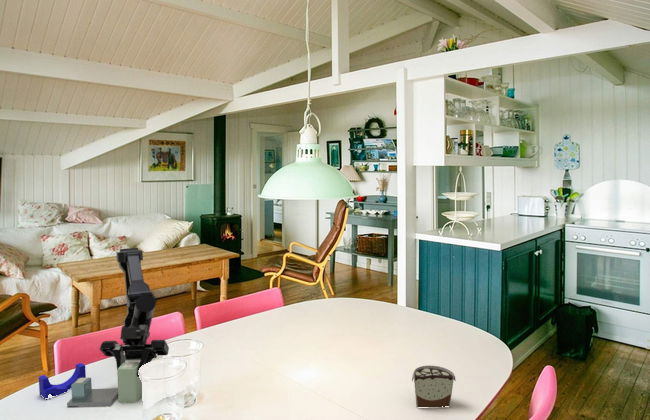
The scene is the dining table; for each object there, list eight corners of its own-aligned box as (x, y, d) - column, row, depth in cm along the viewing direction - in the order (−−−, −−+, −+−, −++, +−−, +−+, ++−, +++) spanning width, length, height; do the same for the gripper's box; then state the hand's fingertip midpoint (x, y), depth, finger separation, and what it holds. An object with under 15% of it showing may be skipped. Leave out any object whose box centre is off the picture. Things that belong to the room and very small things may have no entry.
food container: (448, 396, 131) (449, 364, 130) (455, 407, 125) (455, 373, 124) (407, 397, 130) (407, 364, 130) (411, 408, 124) (412, 374, 123)
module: (118, 402, 127) (117, 368, 126) (124, 394, 132) (123, 361, 131) (136, 402, 127) (135, 367, 126) (141, 394, 132) (140, 361, 131)
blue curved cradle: (45, 400, 128) (44, 381, 128) (39, 396, 131) (38, 376, 131) (88, 385, 138) (87, 366, 137) (81, 380, 141) (80, 362, 140)
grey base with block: (67, 407, 125) (66, 387, 124) (81, 393, 132) (80, 374, 132) (110, 405, 125) (109, 386, 125) (121, 391, 133) (121, 373, 133)
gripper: (100, 315, 131) (84, 367, 121) (164, 313, 132) (154, 365, 122) (113, 331, 140) (99, 381, 130) (173, 329, 141) (163, 379, 131)
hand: (128, 376), depth 128 cm, fingers closed on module, 5 cm apart
